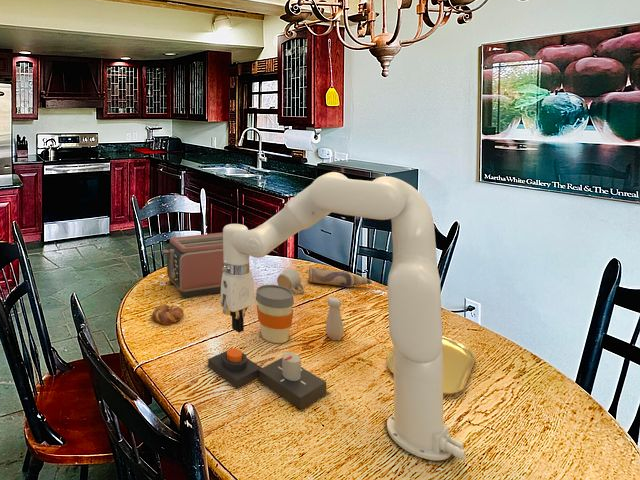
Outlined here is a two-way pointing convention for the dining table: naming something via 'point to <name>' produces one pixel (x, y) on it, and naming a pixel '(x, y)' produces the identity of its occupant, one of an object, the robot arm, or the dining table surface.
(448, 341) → the serving platter
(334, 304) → the salt shaker
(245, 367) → the block
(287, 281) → the ceramic mug
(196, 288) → the toaster
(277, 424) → the dining table surface
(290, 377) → the timer knob
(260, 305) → the reusable coffee cup
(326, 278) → the decorative bottle
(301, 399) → the fryer panel
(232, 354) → the button
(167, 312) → the braided bread roll
